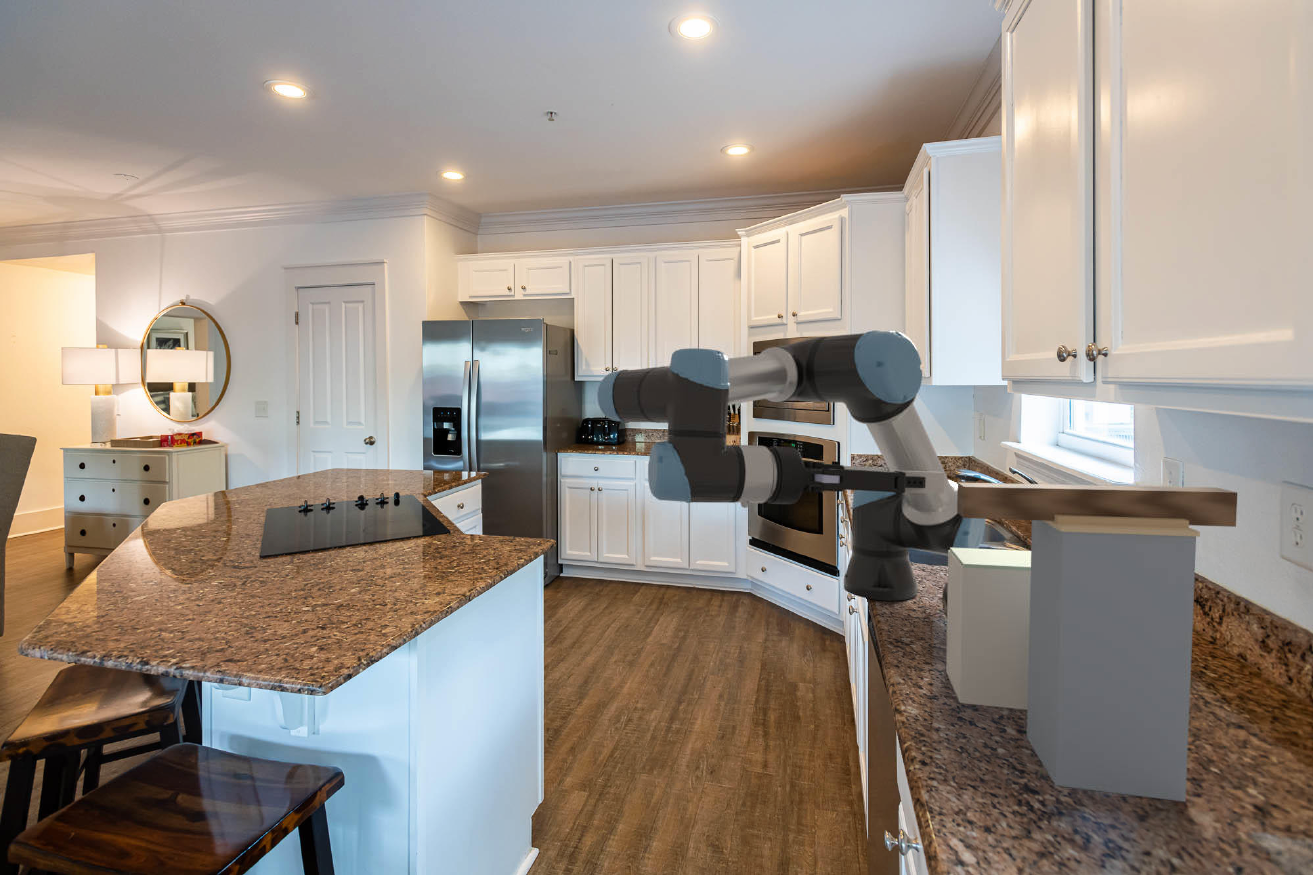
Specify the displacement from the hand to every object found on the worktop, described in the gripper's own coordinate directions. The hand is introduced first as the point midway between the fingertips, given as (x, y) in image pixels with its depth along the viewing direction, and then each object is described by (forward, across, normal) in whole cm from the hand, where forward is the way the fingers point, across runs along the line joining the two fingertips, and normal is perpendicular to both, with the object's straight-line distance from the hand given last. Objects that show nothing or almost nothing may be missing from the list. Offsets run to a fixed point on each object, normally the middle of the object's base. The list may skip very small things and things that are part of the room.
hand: (910, 479), depth 88 cm
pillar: (+13, +18, -31) cm, 39 cm away
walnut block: (+9, +19, -3) cm, 22 cm away
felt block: (+19, +2, -30) cm, 35 cm away
